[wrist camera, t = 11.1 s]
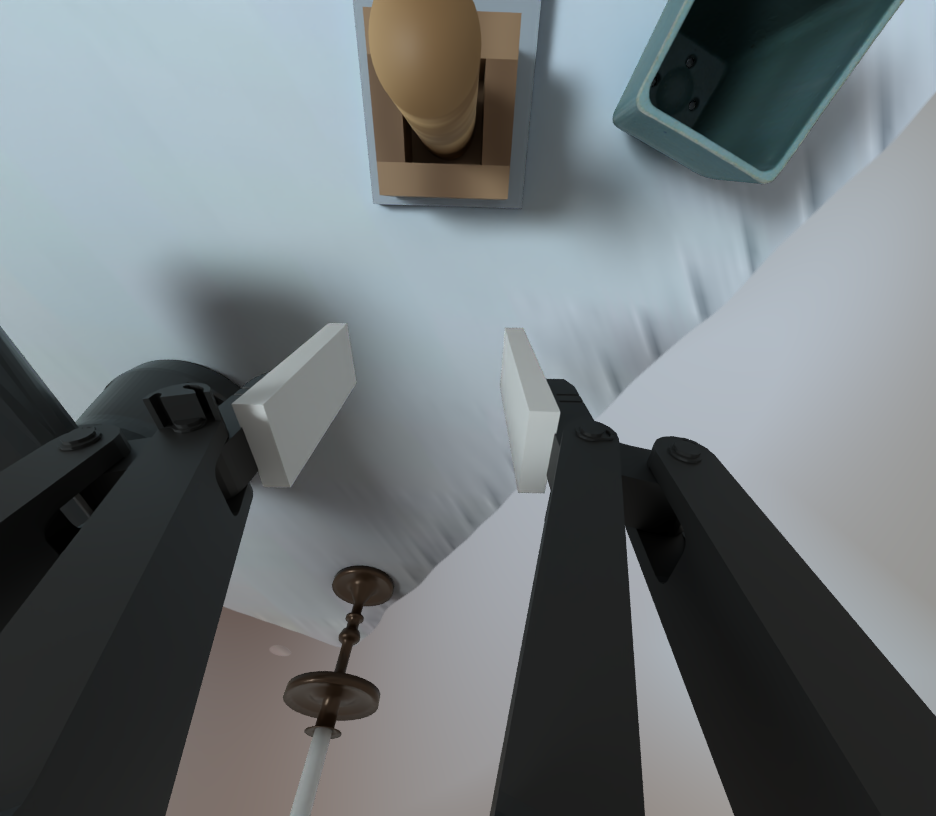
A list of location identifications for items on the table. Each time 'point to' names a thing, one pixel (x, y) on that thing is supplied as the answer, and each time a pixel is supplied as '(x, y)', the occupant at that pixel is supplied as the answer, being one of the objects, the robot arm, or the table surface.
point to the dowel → (430, 67)
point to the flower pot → (744, 79)
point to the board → (529, 6)
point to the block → (489, 154)
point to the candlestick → (336, 680)
